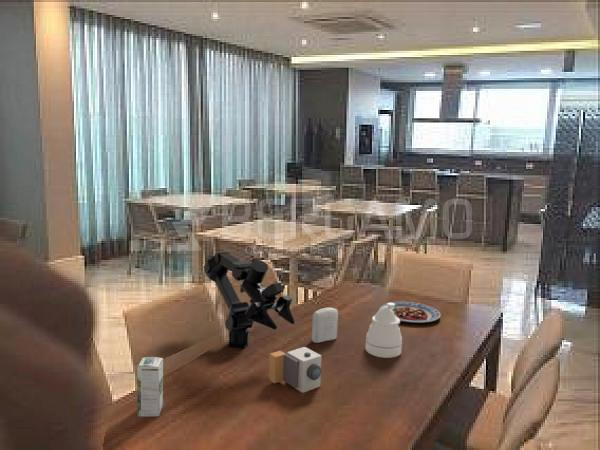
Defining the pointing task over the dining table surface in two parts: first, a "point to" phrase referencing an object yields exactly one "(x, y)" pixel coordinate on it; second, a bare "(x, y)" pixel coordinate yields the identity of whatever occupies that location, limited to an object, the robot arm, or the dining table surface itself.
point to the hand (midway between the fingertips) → (285, 325)
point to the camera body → (307, 368)
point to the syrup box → (150, 386)
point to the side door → (283, 368)
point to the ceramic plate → (414, 312)
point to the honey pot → (384, 334)
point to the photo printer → (324, 325)
